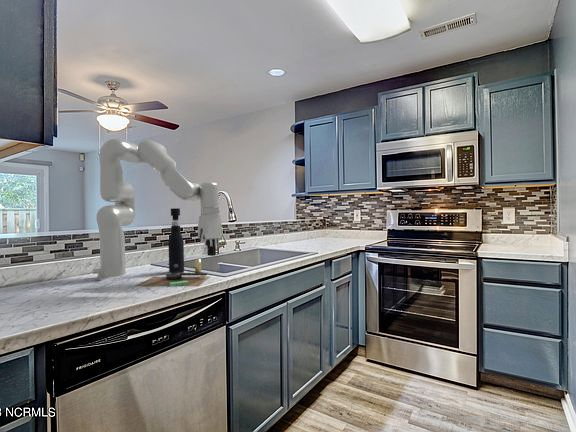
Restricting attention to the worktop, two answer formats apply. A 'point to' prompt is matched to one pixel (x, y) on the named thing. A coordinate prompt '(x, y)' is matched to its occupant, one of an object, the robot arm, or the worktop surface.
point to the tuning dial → (179, 274)
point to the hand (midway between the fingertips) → (211, 255)
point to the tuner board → (174, 281)
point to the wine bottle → (176, 244)
